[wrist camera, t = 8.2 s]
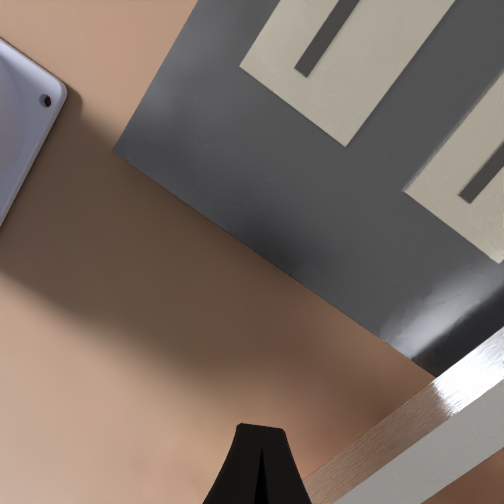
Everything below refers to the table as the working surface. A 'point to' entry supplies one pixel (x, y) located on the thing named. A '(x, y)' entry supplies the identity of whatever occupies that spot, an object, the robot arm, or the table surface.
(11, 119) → the robot arm
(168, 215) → the table surface
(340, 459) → the cable arm
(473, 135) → the panel
